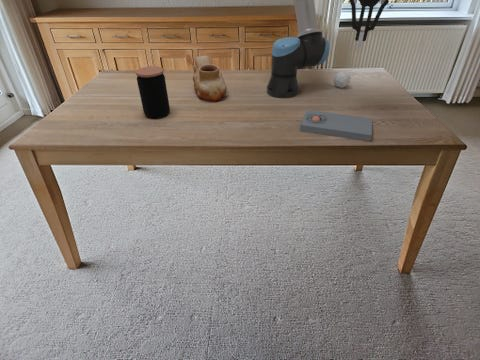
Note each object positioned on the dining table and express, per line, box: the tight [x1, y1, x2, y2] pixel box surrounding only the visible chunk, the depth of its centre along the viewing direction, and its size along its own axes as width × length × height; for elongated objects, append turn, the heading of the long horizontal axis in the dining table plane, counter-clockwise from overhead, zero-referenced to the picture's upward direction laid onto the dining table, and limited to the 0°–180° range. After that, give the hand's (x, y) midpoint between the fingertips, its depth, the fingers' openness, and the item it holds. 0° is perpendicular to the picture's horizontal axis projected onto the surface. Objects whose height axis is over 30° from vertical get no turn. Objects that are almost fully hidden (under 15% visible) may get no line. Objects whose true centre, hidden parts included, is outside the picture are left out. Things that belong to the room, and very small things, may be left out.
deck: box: [299, 109, 373, 142], centre depth 116 cm, size 25×14×2 cm, turn 71°
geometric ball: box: [333, 70, 351, 89], centre depth 149 cm, size 8×8×8 cm
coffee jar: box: [134, 65, 171, 120], centre depth 123 cm, size 11×11×18 cm
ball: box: [312, 116, 320, 121], centre depth 118 cm, size 3×3×3 cm
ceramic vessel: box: [192, 55, 228, 103], centre depth 143 cm, size 14×26×15 cm, turn 19°
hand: (358, 50), depth 114 cm, fingers closed
